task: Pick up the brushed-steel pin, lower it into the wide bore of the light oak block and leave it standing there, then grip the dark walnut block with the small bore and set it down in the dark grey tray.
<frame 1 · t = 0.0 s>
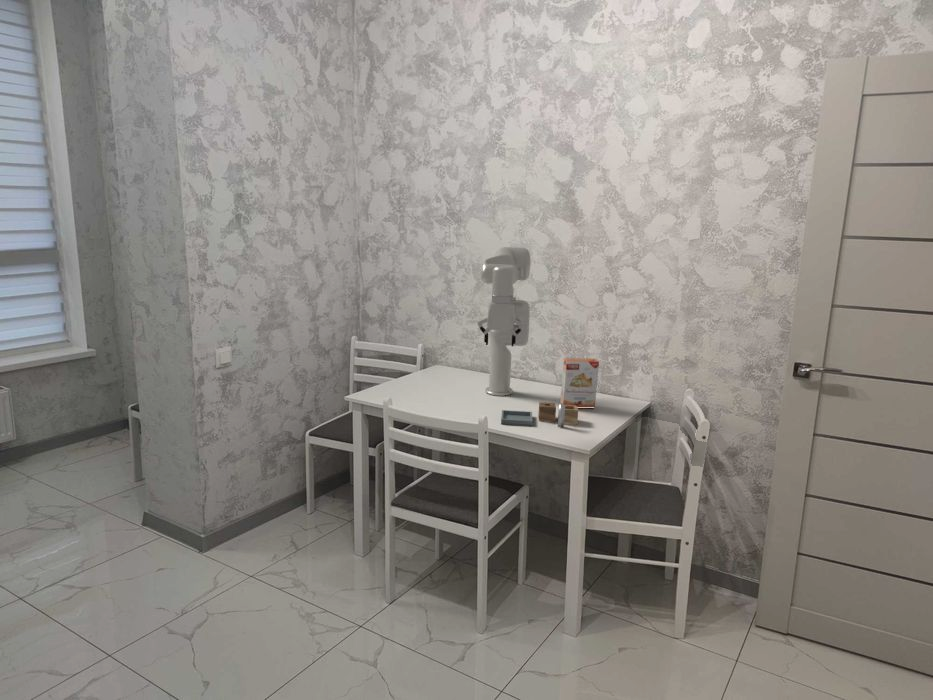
hand: (499, 345, 241), 31 cm above the table, tool pointing down, fingers open, 9 cm apart
walnut block: (546, 419, 256), on the table
oak block: (568, 422, 253), on the table
tray: (516, 420, 253), on the table
steel pin: (560, 427, 247), on the table
cracker box: (577, 407, 273), on the table
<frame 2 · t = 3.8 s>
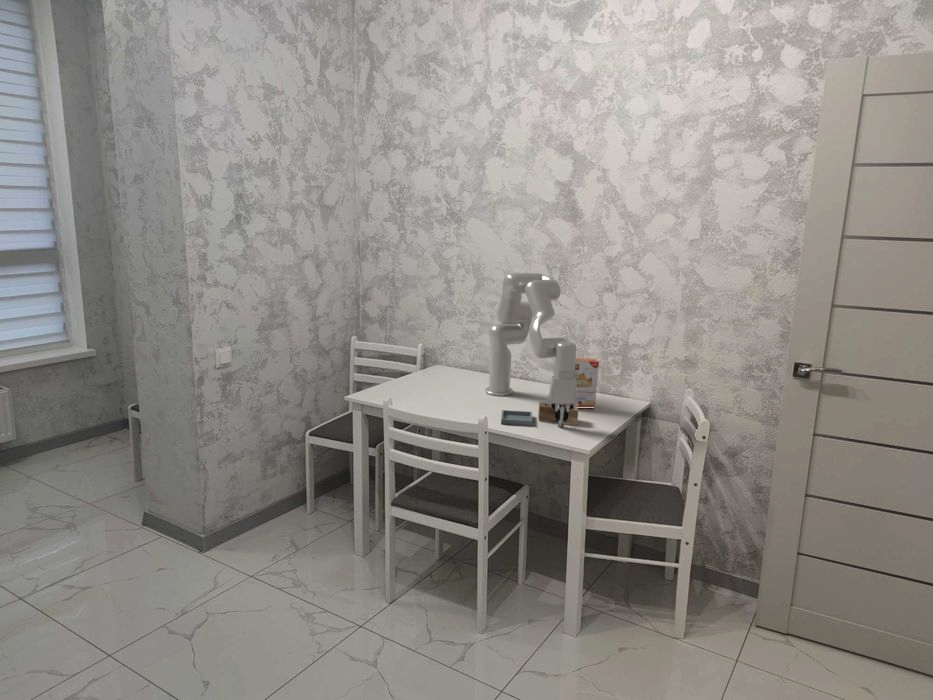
hand: (561, 420, 246), 3 cm above the table, tool pointing down, fingers closed on steel pin, 2 cm apart
steel pin: (560, 427, 247), on the table, touching gripper
everything else where it was.
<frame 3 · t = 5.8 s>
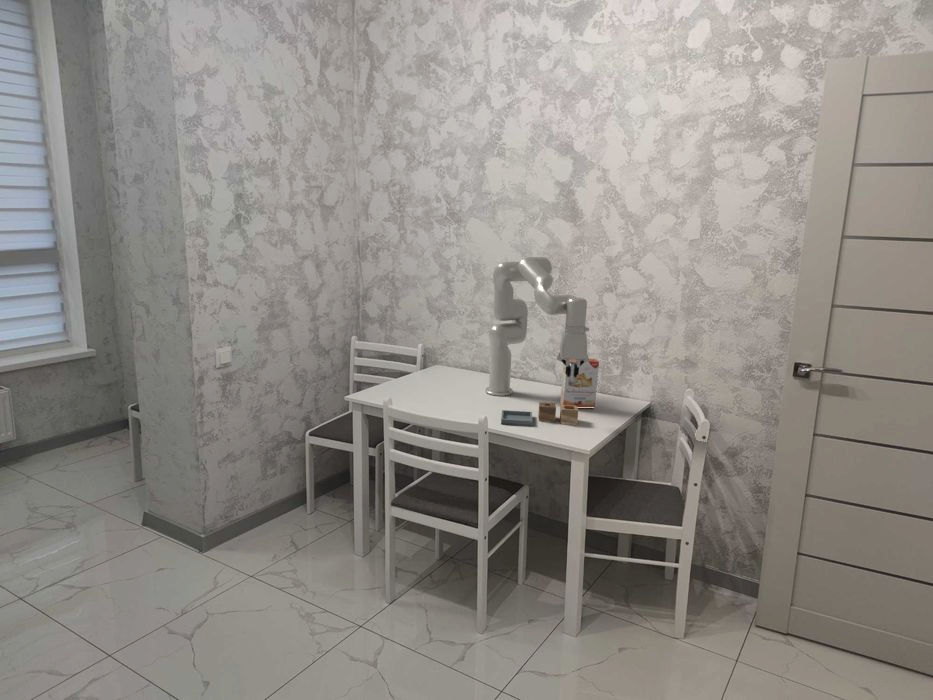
hand: (571, 376, 249), 19 cm above the table, tool pointing down, fingers closed on steel pin
steel pin: (571, 384, 250), point 15 cm above the table, touching gripper
everything else where it was.
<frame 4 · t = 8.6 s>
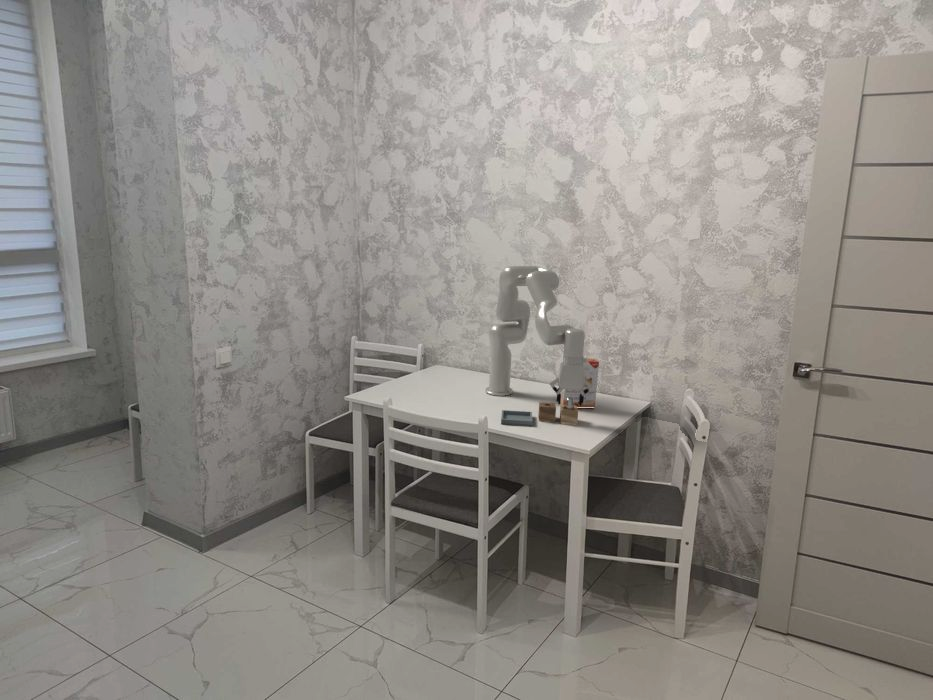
hand: (569, 403, 252), 7 cm above the table, tool pointing down, fingers open, 7 cm apart
oak block: (568, 422, 253), on the table, touching steel pin
steel pin: (568, 419, 253), point 1 cm above the table, touching oak block
everything else where it was.
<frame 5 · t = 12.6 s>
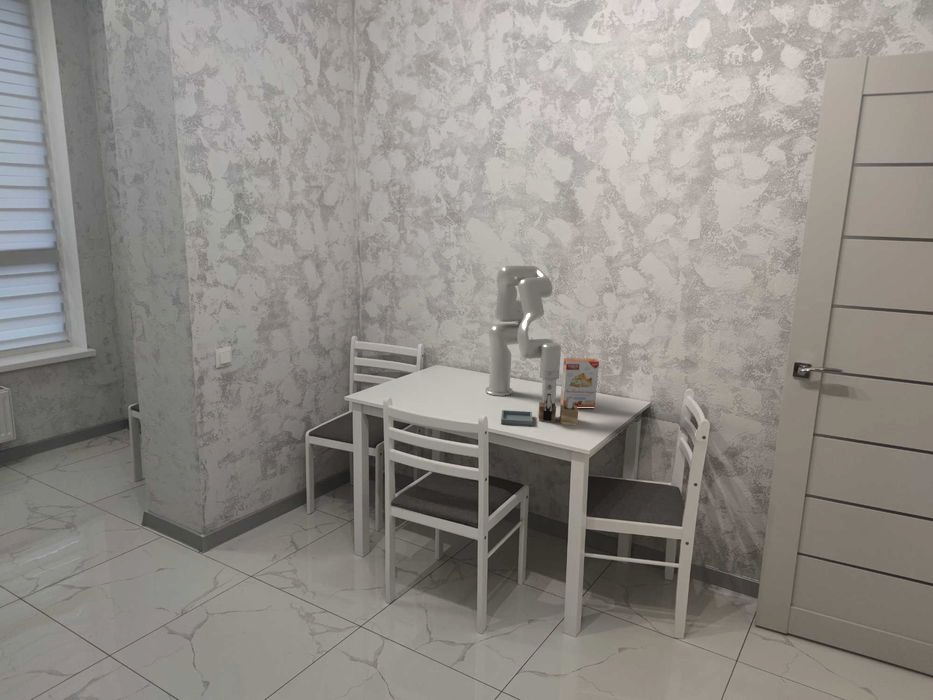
hand: (546, 417, 256), 1 cm above the table, tool pointing down, fingers closed on walnut block, 6 cm apart
walnut block: (546, 419, 256), on the table, touching gripper
everything else where it was.
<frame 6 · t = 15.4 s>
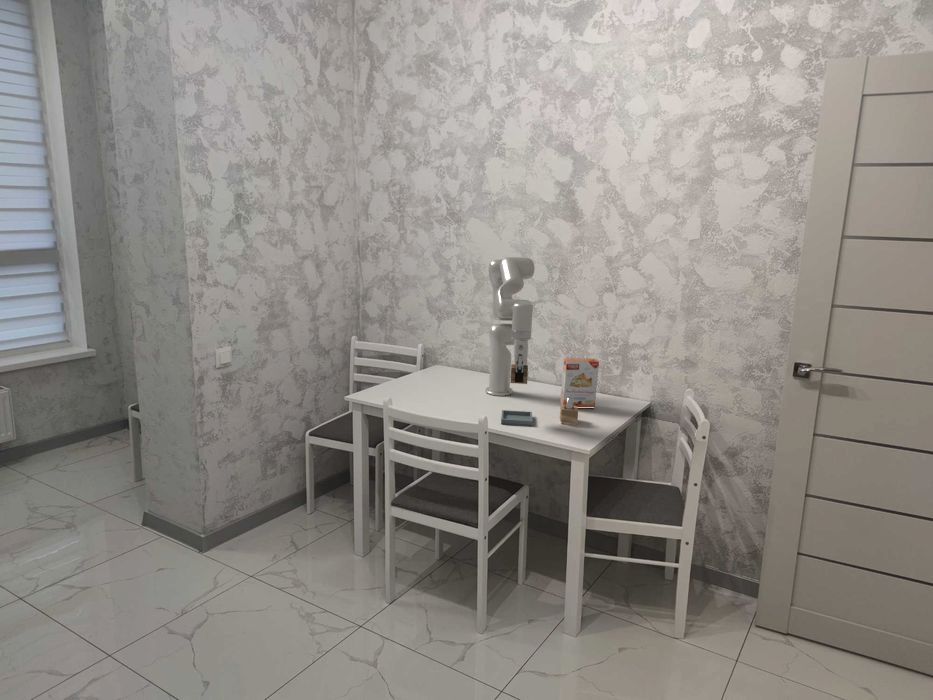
hand: (518, 379, 249), 17 cm above the table, tool pointing down, fingers closed on walnut block, 6 cm apart
walnut block: (518, 381, 249), point 16 cm above the table, touching gripper
everything else where it was.
when the fingers open (3 cm above the table, at t = 18.2 s): walnut block drops 1 cm, resting on tray.
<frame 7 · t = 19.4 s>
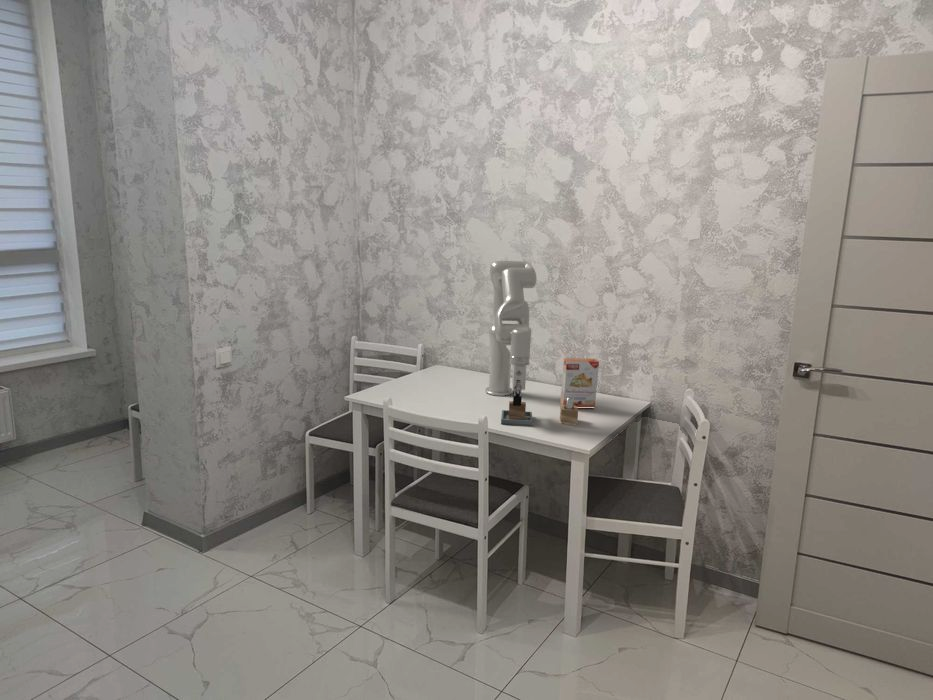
hand: (516, 401, 254), 7 cm above the table, tool pointing down, fingers open, 9 cm apart
walnut block: (516, 417, 253), point 1 cm above the table, tilted 9°, touching tray
everything else where it was.
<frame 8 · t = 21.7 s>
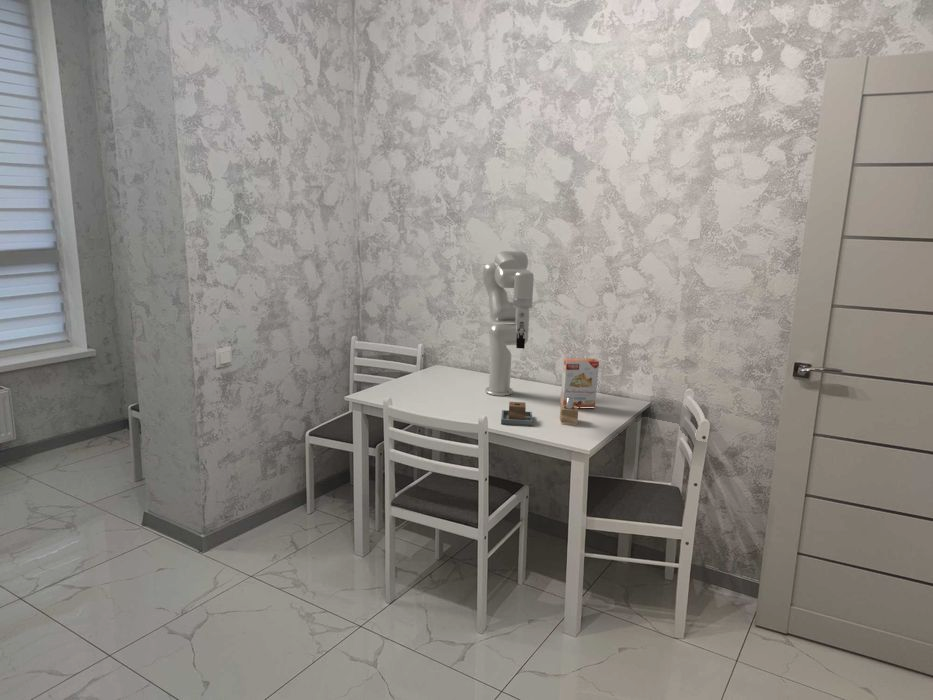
hand: (520, 345, 256), 28 cm above the table, tool pointing down, fingers open, 9 cm apart
walnut block: (516, 418, 253), resting on tray
everything else where it was.
at the end: walnut block inside the target area on the tray (0.2 cm from its centre), point 0.5 cm above the tray's base; steel pin 0.1 cm from the oak block (horizontally); steel pin point 0.8 cm above the table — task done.
